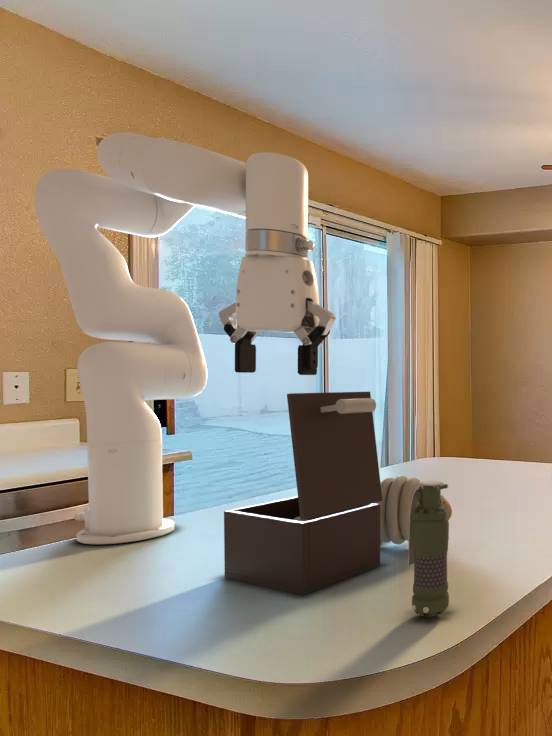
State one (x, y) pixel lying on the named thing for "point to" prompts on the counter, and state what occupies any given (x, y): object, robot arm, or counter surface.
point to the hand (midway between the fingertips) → (276, 373)
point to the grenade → (429, 549)
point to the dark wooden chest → (299, 545)
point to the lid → (334, 451)
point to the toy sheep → (399, 508)
